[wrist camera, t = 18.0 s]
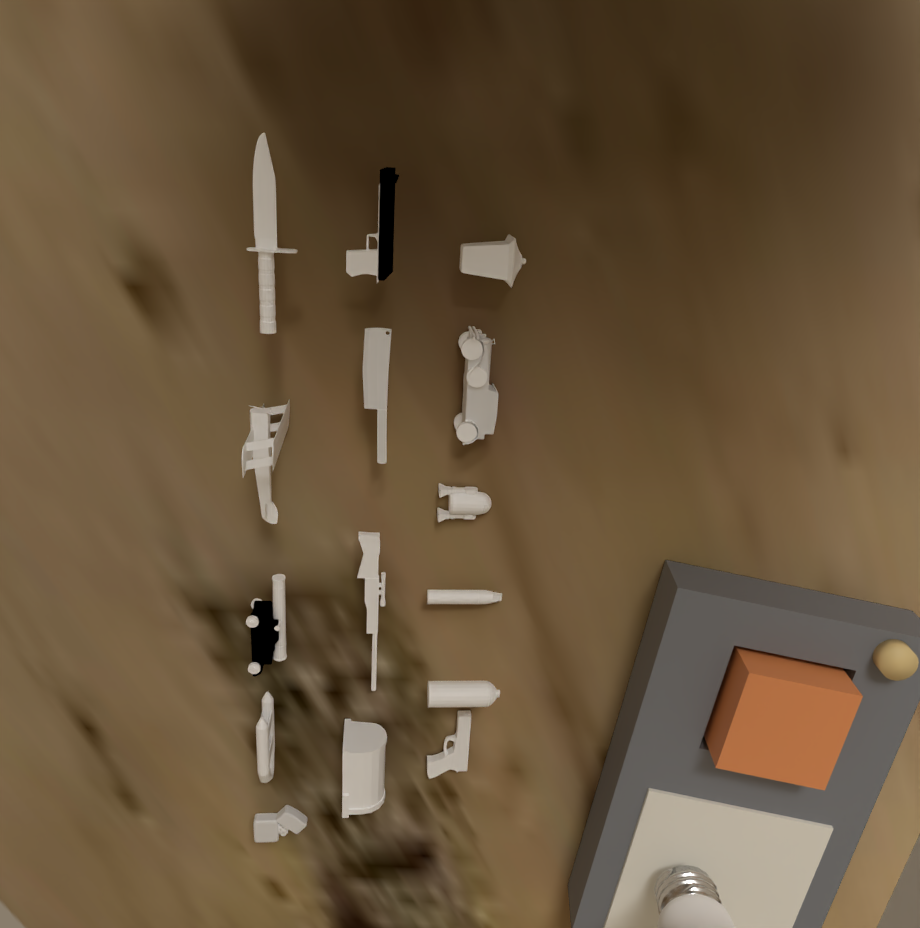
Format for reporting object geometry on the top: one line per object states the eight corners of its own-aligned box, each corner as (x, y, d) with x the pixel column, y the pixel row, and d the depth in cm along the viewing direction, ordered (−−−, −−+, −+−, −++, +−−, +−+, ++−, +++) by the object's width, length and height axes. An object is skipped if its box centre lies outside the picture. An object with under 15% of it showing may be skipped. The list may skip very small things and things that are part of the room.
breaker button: (725, 627, 38) (749, 672, 35) (828, 648, 38) (862, 696, 35) (696, 715, 40) (715, 767, 36) (794, 735, 40) (824, 790, 36)
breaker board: (665, 559, 38) (681, 595, 35) (912, 610, 38) (953, 651, 35) (567, 885, 44) (572, 944, 41) (781, 929, 44) (804, 992, 41)
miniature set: (237, 131, 33) (527, 150, 34) (262, 796, 46) (475, 792, 47) (205, 127, 27) (558, 149, 29) (244, 892, 40) (488, 884, 41)
